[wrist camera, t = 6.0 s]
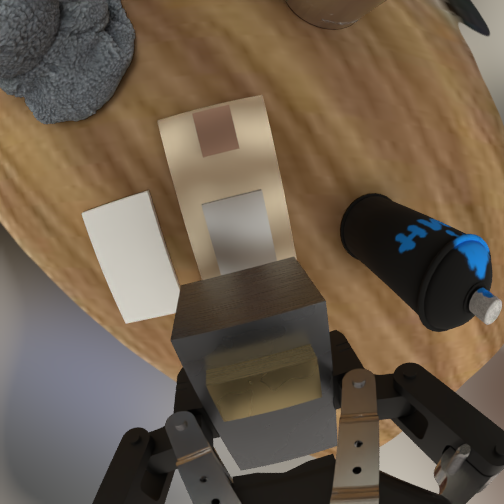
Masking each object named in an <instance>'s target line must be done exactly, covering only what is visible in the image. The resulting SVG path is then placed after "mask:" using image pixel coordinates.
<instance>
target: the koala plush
mask: <svg viewBox="0 0 504 504" xmlns="http://www.w3.org/2000/svg"><path fill="white" fill-rule="evenodd" d="M134 31H135V30H134V29H133V27H132V24H131V23H130V20H129V19H128V18H127V17H126V13H125V10H124V9H123V8H122V5H121V0H0V88H1V89H2V90H3V91H4V92H6V93H7V94H8V95H15V97H24V98H26V99H25V103H26V105H27V106H28V107H29V109H30V110H31V111H32V112H33V115H34V117H35V118H37V120H39V122H41V123H43V124H50V123H51V124H53V123H54V124H55V123H57V122H64V121H72V120H73V121H79V120H83V119H86V118H88V117H89V116H91V115H93V114H95V113H96V111H97V109H100V108H101V107H102V106H103V104H104V103H106V102H107V101H109V99H110V97H112V96H113V94H114V92H115V90H116V88H117V86H118V84H119V82H120V80H121V79H122V76H123V75H124V73H125V71H126V69H127V68H128V67H129V65H130V62H131V60H132V57H133V52H134V39H135V33H133V32H134Z"/></svg>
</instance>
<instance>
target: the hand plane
mask: <svg viewBox="0 0 504 504" xmlns="http://www.w3.org/2000/svg"><path fill="white" fill-rule="evenodd" d="M157 122H158V126H159V130H160V134H161V138H162V142H163V146H164V150H165V154H166V158H167V162H168V165H169V169H170V173H171V177H172V180H173V184H174V188H175V191H176V195H177V198H178V202H179V205H180V209H181V212H182V216H183V219H184V223H185V226H186V229H187V233H188V236H189V239H190V243H191V246H192V249H193V253H194V256H195V259H196V262H197V265H198V269H199V272H200V275H201V278H202V280H205V279H209V278H213V277H217V276H221V275H225V274H229V273H232V272H236V271H240V270H244V269H248V268H252V267H256V266H259V265H263V264H267V263H271V262H275V261H278V260H282V259H286V258H290V257H295V258H296V253H295V248H294V242H293V237H292V231H291V226H290V221H289V216H288V210H287V205H286V200H285V195H284V190H283V185H282V180H281V176H280V171H279V166H278V161H277V157H276V152H275V147H274V143H273V138H272V134H271V129H270V125H269V121H268V116H267V112H266V108H265V103H264V99H263V95H259V96H254V97H249V98H243V99H239V100H234V101H229V102H225V103H220V104H216V105H212V106H208V107H204V108H200V109H196V110H192V111H189V112H185V113H181V114H178V115H174V116H171V117H168V118H164V119H161V120H158V121H157ZM296 260H297V259H296Z"/></svg>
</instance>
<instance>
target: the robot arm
mask: <svg viewBox="0 0 504 504" xmlns="http://www.w3.org/2000/svg"><path fill="white" fill-rule="evenodd" d="M385 1H386V0H286V2H287V3H288V5H289V7H290V8H291V9H292V10H293V11H294V13H295V14H297V15H298V16H299V17H300V18H302V19H303V20H305V21H307V22H308V23H310V24H313V25H315V26H318V27H322V28H326V29H342V28H345V27H348V26H350V25H352V24H353V23H355V22H357V21H358V20H359V19H360V18H362V17H363V16H364V15H366V14H367V13H369V12H370V11H372V10H373V9H374V8H376V7H377V6H379V5H380V4H382V3H383V2H385ZM329 335H330V344H331V355H332V366H333V374H332V386H333V398H334V409H335V410H336V409H339V408H341V417H340V420H339V433H338V444H337V455H336V459H335V458H334V455H333V454H331V455H327V456H324V457H321V458H317V459H314V460H310V461H308V462H306V463H304V464H302V465H300V466H298V467H296V468H293V469H291V470H289V471H287V472H284V473H253V474H247V475H242V476H235V477H233V479H232V477H231V476H230V474H229V473H228V471H227V469H226V468H225V466H224V464H223V462H222V461H221V459H220V457H219V455H218V454H217V452H216V450H215V448H214V447H213V438H217V437H220V435H219V434H218V432H217V430H216V428H215V427H214V425H213V423H212V421H211V419H210V418H209V416H208V414H207V412H206V410H205V409H204V407H203V405H202V403H201V401H200V399H199V397H198V395H197V393H196V392H195V390H194V388H193V386H192V384H191V382H190V380H189V378H188V376H187V374H186V372H185V370H184V368H182V369H181V371H180V372H179V374H178V376H177V386H176V394H175V404H174V414H172V415H171V416H170V417H169V418H168V419H167V421H166V423H165V426H164V427H162V428H160V429H157V430H154V431H152V432H149V433H148V431H147V430H145V429H143V428H133V429H130V430H129V431H127V432H126V433H125V435H124V436H123V437H122V440H121V442H120V444H119V446H118V448H117V450H116V452H115V455H114V457H113V459H112V461H111V463H110V466H109V468H108V470H107V472H106V474H105V477H104V479H103V481H102V483H101V485H100V488H99V490H98V492H97V495H96V497H95V499H94V501H93V503H92V504H164V503H165V500H166V497H167V494H168V491H169V488H170V484H171V481H172V478H173V475H174V472H175V469H178V470H179V473H180V475H181V478H182V480H183V482H184V484H185V486H186V489H187V491H188V493H189V495H190V498H191V500H192V502H193V504H466V503H467V502H468V501H469V500H470V499H471V498H472V497H473V496H474V495H475V494H476V493H479V492H481V491H482V490H483V489H484V488H485V487H486V486H487V485H488V484H489V483H490V482H491V481H492V480H493V479H494V478H495V477H496V476H497V475H498V474H499V473H500V472H501V471H502V470H503V469H504V431H503V430H502V429H501V428H500V427H498V426H497V425H496V424H495V423H493V422H492V421H491V420H490V419H488V418H487V417H486V416H484V415H483V414H482V413H481V412H479V411H478V410H477V409H476V408H474V407H473V406H472V405H471V404H469V403H468V402H467V401H465V400H464V399H463V398H462V397H460V396H459V395H458V394H457V393H455V392H454V391H453V390H451V389H450V388H449V387H448V386H446V385H445V384H444V383H442V382H441V381H440V380H439V379H437V378H436V377H435V376H433V375H432V374H431V373H429V372H428V371H427V370H426V369H424V368H423V367H422V366H420V365H419V364H416V363H405V364H402V365H400V366H399V367H397V368H396V370H395V372H394V374H386V375H375V374H373V373H372V372H371V371H369V370H367V369H365V368H364V367H363V365H362V364H361V362H360V360H359V359H358V357H357V356H356V354H355V352H354V351H353V349H352V348H351V346H350V344H349V343H348V341H347V339H346V338H345V336H344V335H343V334H342V333H340V332H339V331H337V330H334V331H331V332H329ZM382 419H391V420H392V421H393V422H394V423H395V424H396V425H397V426H398V427H399V428H400V429H401V430H402V431H403V432H404V433H405V434H406V435H407V436H408V437H409V438H410V439H411V440H412V441H413V442H414V443H415V444H416V445H417V446H418V447H420V449H421V450H422V451H423V452H424V453H425V454H426V455H427V456H428V457H430V458H431V460H432V461H434V462H435V463H436V464H437V466H436V467H435V470H434V478H435V480H436V481H437V483H438V485H439V494H437V493H434V492H431V491H428V490H426V489H423V488H420V487H418V486H415V485H412V484H410V483H408V482H405V481H403V480H400V479H398V478H396V477H393V476H391V475H389V474H387V473H384V472H382V471H380V470H379V420H382Z"/></svg>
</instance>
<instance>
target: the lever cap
mask: <svg viewBox="0 0 504 504" xmlns="http://www.w3.org/2000/svg"><path fill="white" fill-rule="evenodd" d="M171 342H172V344H173V347H174V349H175V351H176V353H177V355H178V357H179V359H180V361H181V363H182V366H183V368H184V370H185V372H186V374H187V376H188V378H189V380H190V382H191V384H192V386H193V388H194V390H195V392H196V393H197V395H198V397H199V399H200V401H201V403H202V405H203V407H204V409H205V410H206V412H207V414H208V416H209V418H210V419H211V421H212V423H213V425H214V427H215V428H216V430H217V432H218V434H219V435H220V437H221V439H222V440H223V442H224V444H225V445H226V447H227V449H228V450H229V452H230V454H231V455H232V457H233V458H234V460H235V462H236V463H237V465H238V466H239V468H240V470H246V469H251V468H256V467H261V466H266V465H270V464H274V463H279V462H283V461H287V460H291V459H294V458H298V457H302V456H306V455H309V454H313V453H316V452H319V451H322V450H326V449H329V448H332V447H335V446H337V424H336V410H335V409H334V398H333V386H332V374H333V366H332V355H331V344H330V335H329V325H328V316H327V308H326V301H325V299H324V298H323V296H322V295H321V293H320V292H319V291H318V289H317V288H316V286H315V285H314V284H313V282H312V281H311V279H310V278H309V277H308V275H307V274H306V272H305V271H304V270H303V268H302V267H301V265H300V264H299V263H298V261H297V260H296V258H295V257H290V258H286V259H282V260H278V261H275V262H271V263H267V264H263V265H259V266H256V267H252V268H248V269H244V270H240V271H236V272H232V273H229V274H225V275H221V276H217V277H213V278H209V279H205V280H201V281H197V282H193V283H189V284H185V285H181V288H180V293H179V298H178V303H177V308H176V314H175V319H174V324H173V330H172V336H171Z"/></svg>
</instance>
